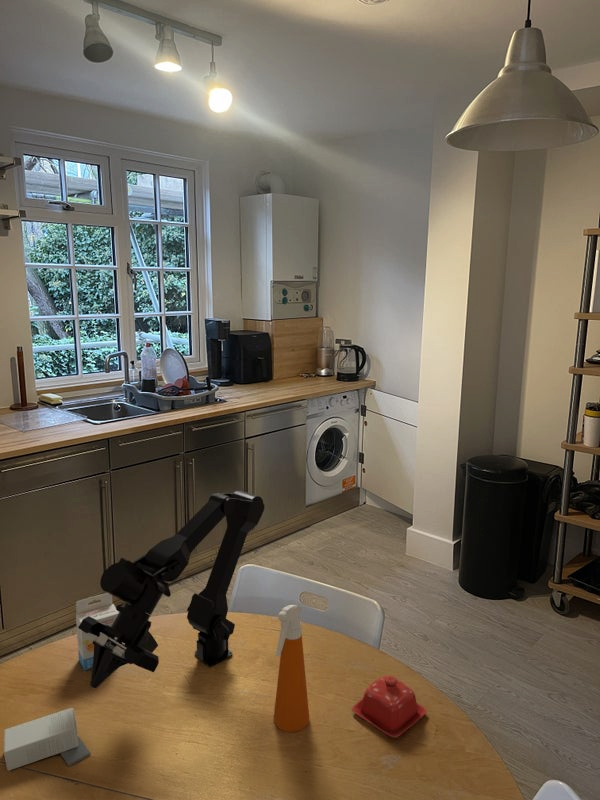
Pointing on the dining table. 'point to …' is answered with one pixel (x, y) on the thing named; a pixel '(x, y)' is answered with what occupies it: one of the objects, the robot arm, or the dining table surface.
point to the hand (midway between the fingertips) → (92, 687)
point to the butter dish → (389, 706)
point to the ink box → (100, 612)
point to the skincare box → (40, 738)
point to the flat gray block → (75, 753)
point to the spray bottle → (291, 674)
